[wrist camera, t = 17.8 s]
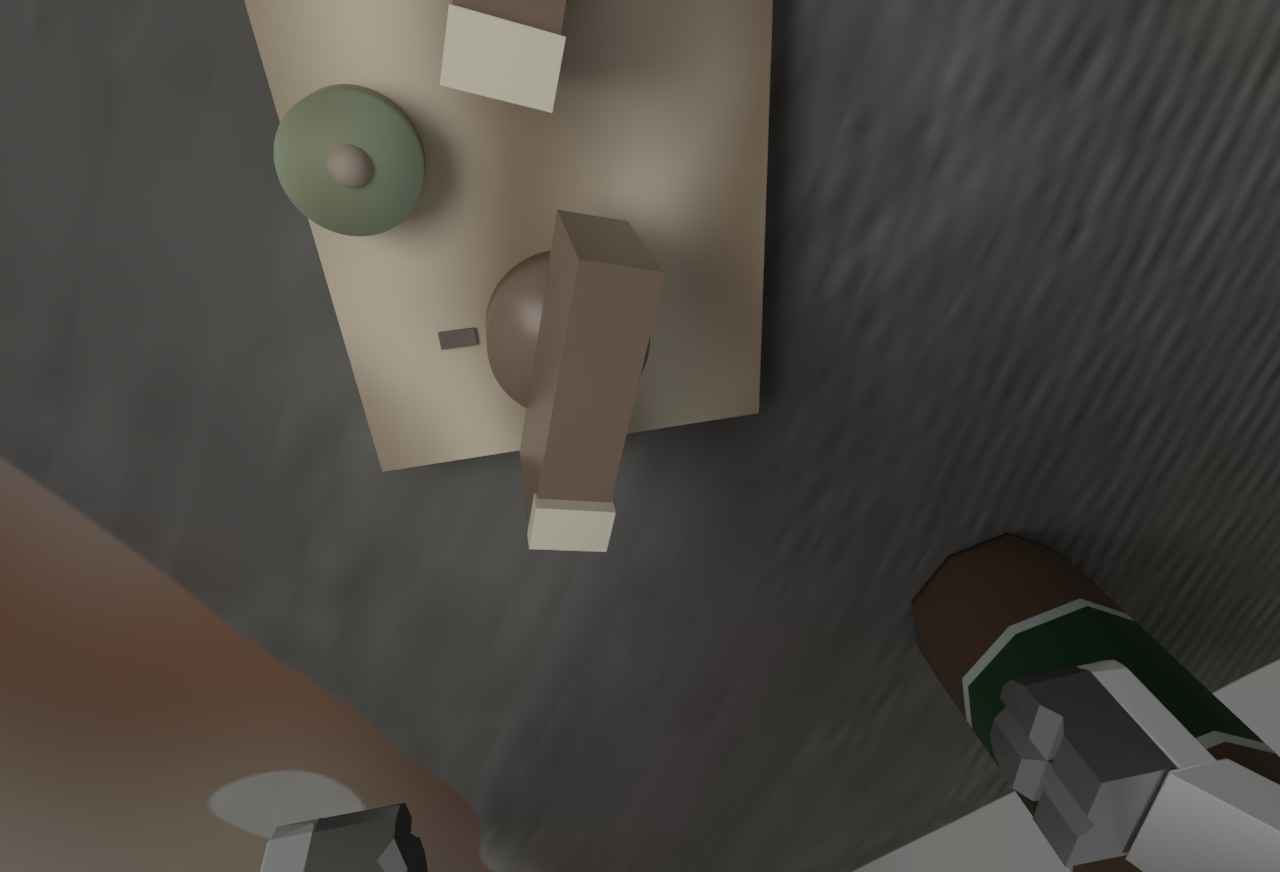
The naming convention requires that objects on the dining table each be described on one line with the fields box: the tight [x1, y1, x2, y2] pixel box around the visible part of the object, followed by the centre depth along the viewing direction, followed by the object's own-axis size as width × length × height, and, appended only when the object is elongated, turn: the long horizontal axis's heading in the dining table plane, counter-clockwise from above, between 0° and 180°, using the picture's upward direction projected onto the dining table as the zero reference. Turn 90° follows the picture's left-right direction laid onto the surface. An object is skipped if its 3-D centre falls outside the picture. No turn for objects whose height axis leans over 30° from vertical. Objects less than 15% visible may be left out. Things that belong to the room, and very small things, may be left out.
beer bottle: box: [912, 533, 1280, 872], centre depth 24 cm, size 8×8×24 cm
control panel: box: [244, 0, 773, 472], centre depth 19 cm, size 12×18×4 cm
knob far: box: [486, 210, 665, 552], centre depth 19 cm, size 7×4×6 cm, turn 167°
